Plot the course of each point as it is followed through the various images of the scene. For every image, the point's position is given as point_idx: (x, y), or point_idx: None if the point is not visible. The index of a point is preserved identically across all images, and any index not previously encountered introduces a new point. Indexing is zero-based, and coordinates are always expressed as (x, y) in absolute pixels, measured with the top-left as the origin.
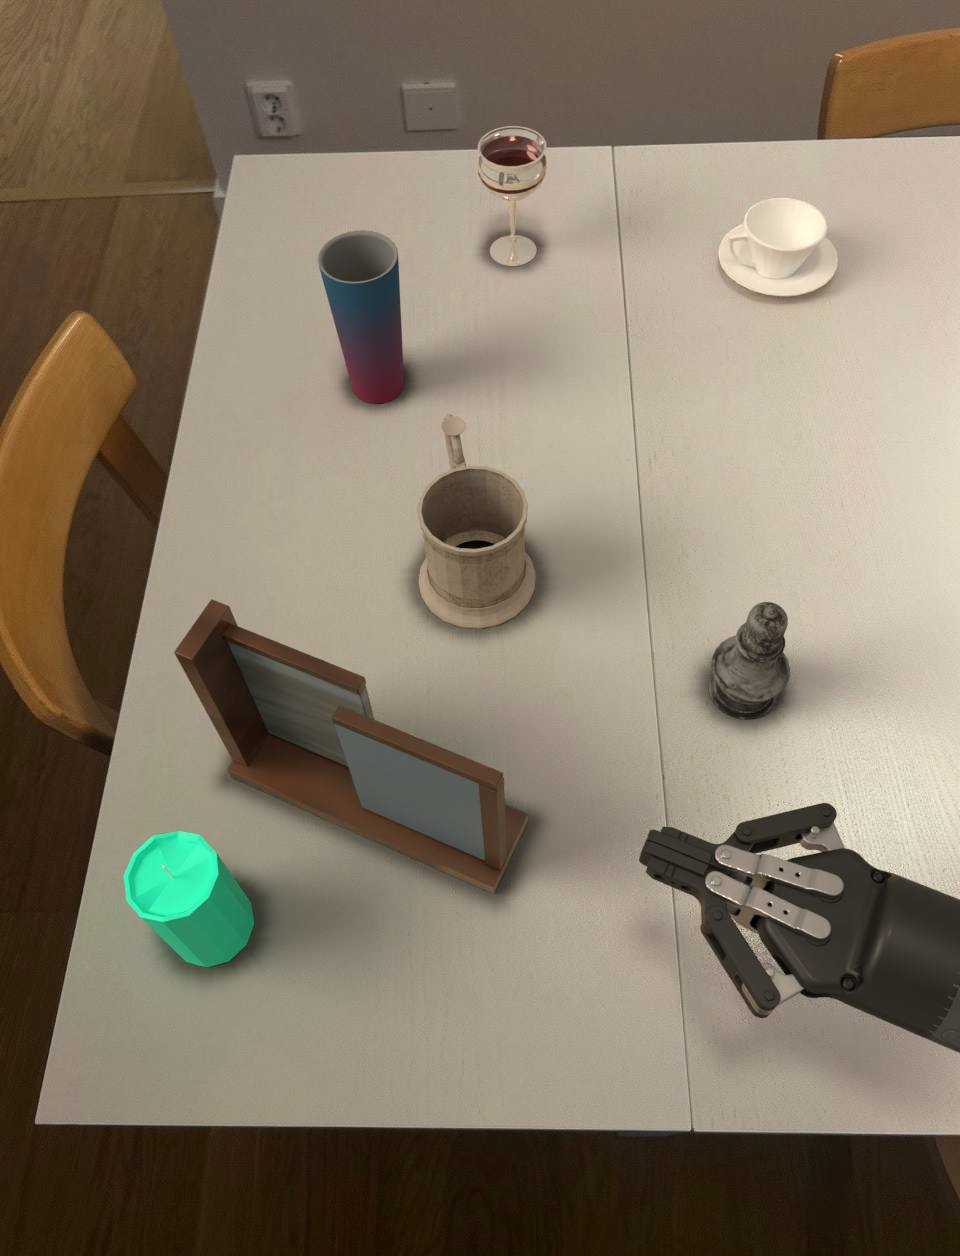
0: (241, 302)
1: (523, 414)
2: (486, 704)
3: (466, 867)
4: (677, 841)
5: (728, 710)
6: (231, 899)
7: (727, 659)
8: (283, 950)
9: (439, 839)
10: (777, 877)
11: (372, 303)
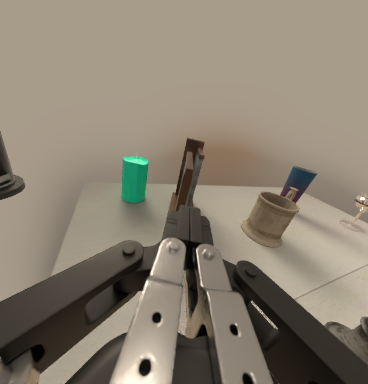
0: (271, 189)
1: (316, 235)
2: (225, 241)
3: None
4: (198, 219)
5: None
6: (135, 179)
7: (342, 330)
8: (127, 208)
9: None
10: (215, 323)
11: (299, 177)
